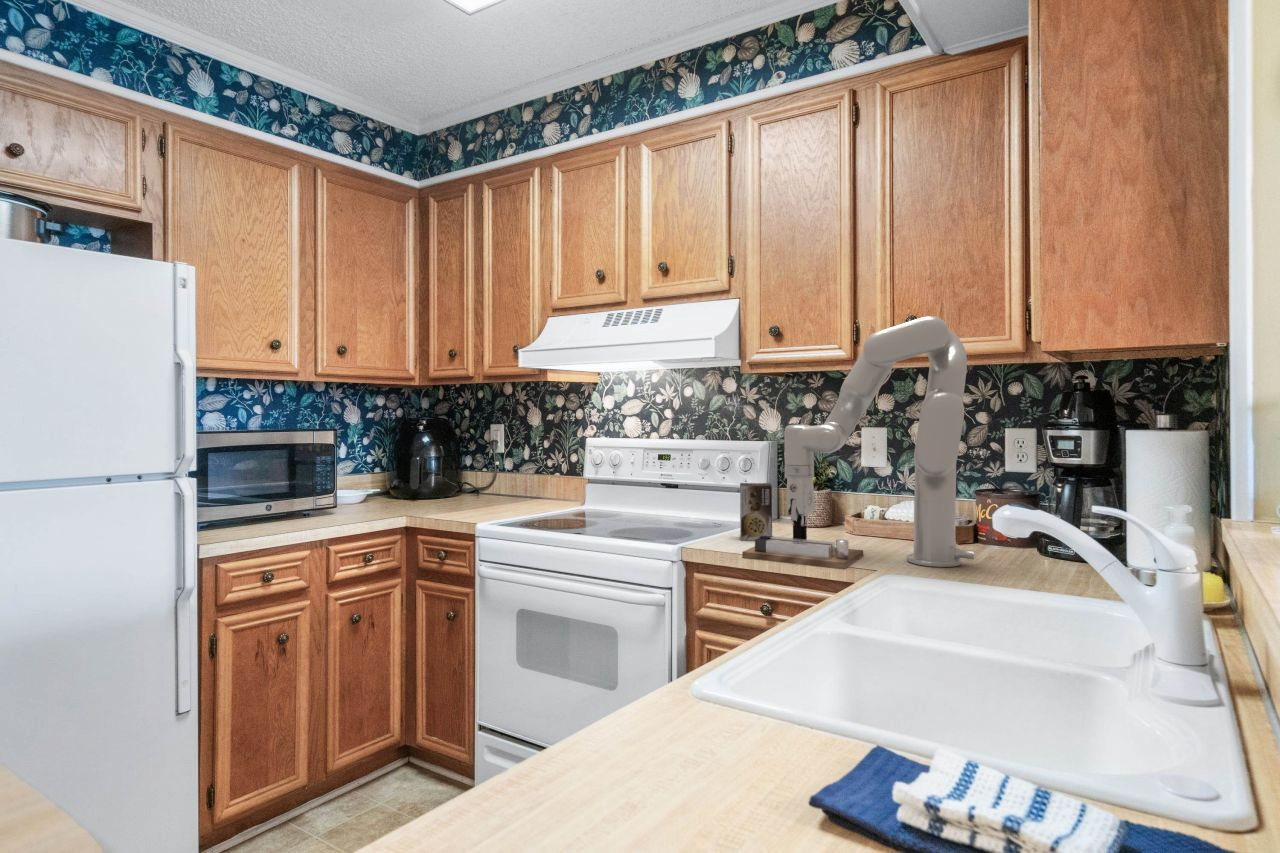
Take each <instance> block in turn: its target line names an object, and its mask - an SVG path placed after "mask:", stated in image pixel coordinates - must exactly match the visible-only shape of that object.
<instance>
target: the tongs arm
mask: <svg viewBox="0 0 1280 853" xmlns="http://www.w3.org/2000/svg"><path fill="white" fill-rule="evenodd" d="M759 538H761V539H771V540H781V541H792V542H802V543H812V544H823V545H831V556H833V555H834V554H835V548H836V541H826V540H817V539H808V538H807V539H796V538H793V537H784V536H783V537H782V536H773V535H772V536H764V535H762V536H760V537H759Z"/></svg>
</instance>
